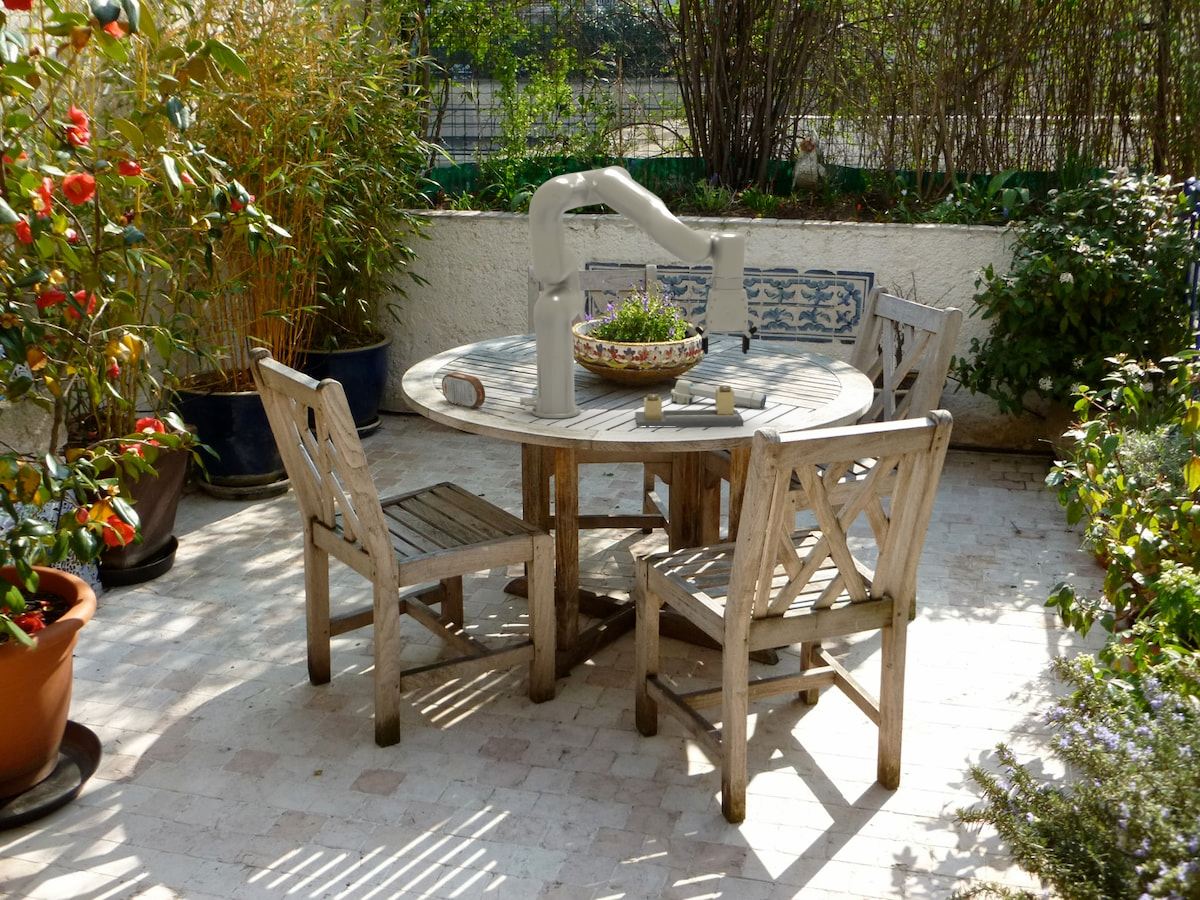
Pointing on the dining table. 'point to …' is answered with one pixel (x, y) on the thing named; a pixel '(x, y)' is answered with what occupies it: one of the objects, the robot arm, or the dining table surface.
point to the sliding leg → (724, 400)
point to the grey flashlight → (714, 394)
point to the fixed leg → (652, 407)
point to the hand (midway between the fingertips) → (725, 353)
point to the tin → (463, 389)
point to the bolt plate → (691, 419)
